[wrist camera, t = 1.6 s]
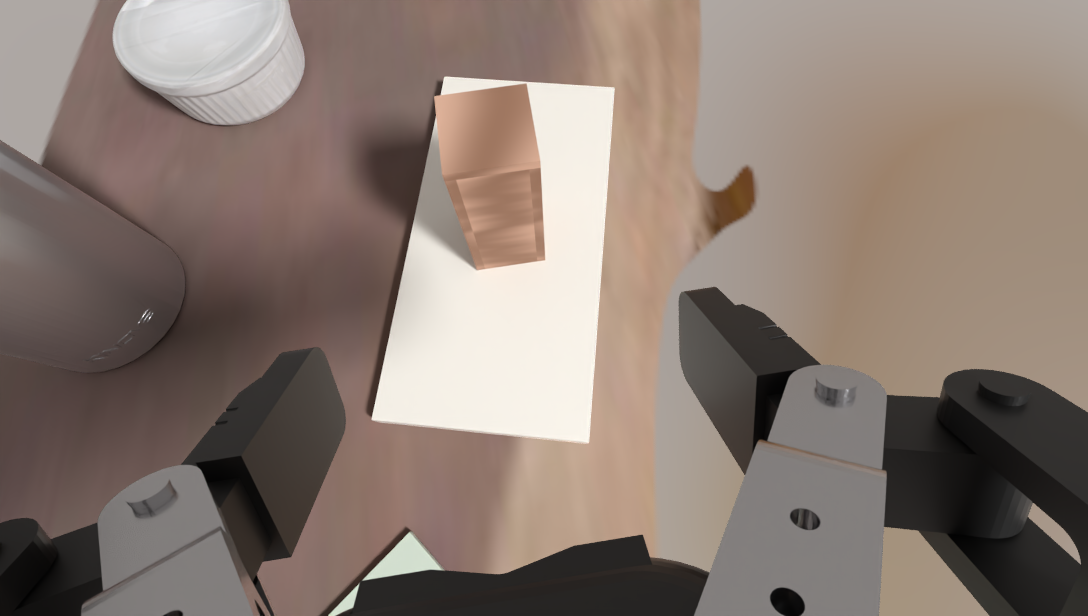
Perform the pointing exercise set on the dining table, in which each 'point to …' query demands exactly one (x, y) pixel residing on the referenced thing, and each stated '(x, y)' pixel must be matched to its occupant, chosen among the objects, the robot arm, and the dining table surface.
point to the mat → (396, 566)
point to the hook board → (507, 292)
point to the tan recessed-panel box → (493, 173)
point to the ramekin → (213, 55)
